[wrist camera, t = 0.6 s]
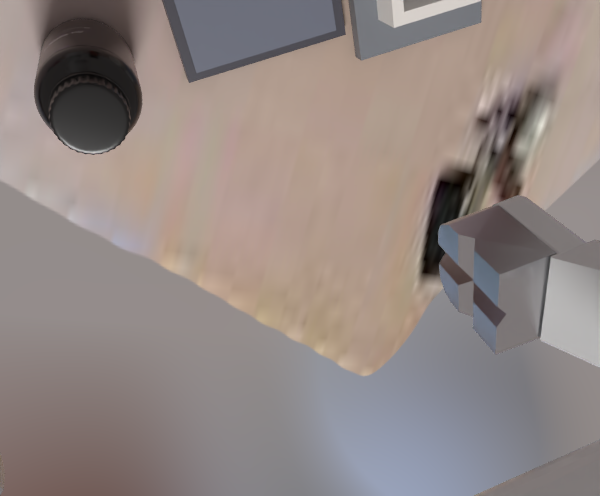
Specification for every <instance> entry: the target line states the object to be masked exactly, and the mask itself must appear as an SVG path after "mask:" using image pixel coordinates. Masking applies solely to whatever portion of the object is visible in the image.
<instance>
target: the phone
mask: <svg viewBox="0 0 600 496" xmlns="http://www.w3.org/2000/svg"><path fill="white" fill-rule="evenodd" d="M162 2H163V5H164V8H165V11H166V14H167V17H168V20H169V23H170V27H171V30H172V33H173V36H174V39H175V42H176V45H177V48H178V51H179V55H180V58H181V61H182V64H183V67H184V70H185V73H186V76H187V79H188V81H189V83H190V82H194V81H197V80H200V79H203V78H206V77H210V76H213V75H216V74H219V73H223V72H226V71H229V70H232V69H236V68H239V67H242V66H245V65H249V64H252V63H255V62H258V61H262V60H265V59H268V58H271V57H275V56H278V55H281V54H284V53H287V52H291V51H294V50H297V49H300V48H304V47H307V46H310V45H313V44H317V43H320V42H323V41H326V40H330V39H333V38H336V37H339V36H343V35H346V34H345V26H344V19H343V12H342V4H341V0H162Z"/></svg>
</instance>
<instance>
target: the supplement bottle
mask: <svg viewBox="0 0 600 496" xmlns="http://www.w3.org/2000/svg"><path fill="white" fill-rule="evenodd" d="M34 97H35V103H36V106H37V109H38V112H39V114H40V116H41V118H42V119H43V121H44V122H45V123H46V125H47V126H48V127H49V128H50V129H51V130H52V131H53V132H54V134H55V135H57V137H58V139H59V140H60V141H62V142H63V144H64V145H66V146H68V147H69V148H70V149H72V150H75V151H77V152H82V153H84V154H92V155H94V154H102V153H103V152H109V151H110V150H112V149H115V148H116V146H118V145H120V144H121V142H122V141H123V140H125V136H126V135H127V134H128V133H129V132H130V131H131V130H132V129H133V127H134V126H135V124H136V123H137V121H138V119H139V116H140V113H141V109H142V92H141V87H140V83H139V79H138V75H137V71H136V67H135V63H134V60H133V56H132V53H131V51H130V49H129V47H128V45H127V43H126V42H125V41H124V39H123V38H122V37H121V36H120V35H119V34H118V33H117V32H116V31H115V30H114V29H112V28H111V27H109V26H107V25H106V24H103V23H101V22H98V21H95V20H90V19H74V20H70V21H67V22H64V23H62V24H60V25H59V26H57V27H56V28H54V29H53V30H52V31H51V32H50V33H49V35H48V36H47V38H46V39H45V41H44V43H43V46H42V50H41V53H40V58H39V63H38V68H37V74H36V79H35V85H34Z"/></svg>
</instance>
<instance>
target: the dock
mask: <svg viewBox="0 0 600 496" xmlns="http://www.w3.org/2000/svg"><path fill="white" fill-rule="evenodd" d="M349 7H350V15H351V23H352V31H353V39H354V46H355V54H356V57H357V58H358V59H360V60H364V59H367V58H371V57H374V56H377V55H380V54H383V53H386V52H390V51H393V50H396V49H399V48H402V47H405V46H408V45H412V44H415V43H418V42H421V41H424V40H427V39H430V38H434V37H437V36H440V35H443V34H446V33H449V32H453V31H456V30H459V29H462V28H465V27H468V26H471V25H475V24H478V23H481V0H349Z"/></svg>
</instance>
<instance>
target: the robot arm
mask: <svg viewBox="0 0 600 496" xmlns="http://www.w3.org/2000/svg"><path fill="white" fill-rule="evenodd" d="M438 243H439V245H440V246H441V247H442V248H443V249H444V251H445V252H446V253H445V255H444V256H443V258H442V260H441V261H440V263H439V268H440V279H441V282H442V285H443V288H444V290H445V293H446V295H447V296H448V298H449V300H450V302H451V303H452V304H453V306H454V307H455V308H456V309H457V310H458V312H460V313H464V314H466V315H469V316H472V317H473V329H474V331H475V332H476V333H477V334H478V335H479V336H480V338H481V339H482V340H483V341H484V342H485V343H486V345H487V346H488V347H489V348H490V349H491V350H492V351H493V353H494V354H499V353H501V352H504V351H506V350H509V349H512V348H515V347H517V346H520V345H523V344H525V343H528V342H531V341H533V340H535V339H538V338H540V340H541V341H543V342H545V343H547V344H549V345H552V346H554V347H556V348H558V349H560V350H562V351H565V352H567V353H569V354H571V355H573V356H575V357H578V358H580V359H582V360H584V361H587V362H589V363H591V364H593V365H595V366H597V367H600V241H598V240H593V241H590V242H585V241H584V240H583V239H581V238H580V237H579V236H577V235H576V234H575V233H573V232H572V231H571V230H569V229H568V228H567V227H565V226H564V225H563V224H561V223H560V222H559V221H557V220H556V219H555V218H553V217H552V216H551V215H549V214H548V213H547V212H545V211H544V210H543V209H541V208H540V207H539V206H537V205H536V204H535V203H533V202H532V201H531V200H529V199H528V198H527V197H524V196H520V195H518V196H515V197H512V198H510V199H507V200H505V201H502V202H499V203H497V204H494V205H493V206H492V207H488V208H485V209H482V210H480V211H477V212H474V213H472V214H469V215H466V216H464V217H461V218H458V219H455V220H453V221H450V222H447V223H445V224H442V225H441V226H440V229H439V232H438ZM4 477H5V472H4V467H3V462H2V456H1V454H0V494H1V493H2V491H3V490H4V489H3V488H4ZM474 496H600V439H599V440H597V441H595V442H593V443H590V444H588V445H586V446H584V447H582V448H579V449H577V450H575V451H572V452H570V453H568V454H566V455H564V456H561V457H559V458H557V459H555V460H553V461H550V462H548V463H546V464H543V465H541V466H539V467H537V468H534V469H532V470H530V471H528V472H526V473H523V474H521V475H519V476H517V477H514V478H512V479H510V480H508V481H506V482H503V483H501V484H499V485H496V486H494V487H492V488H490V489H487V490H485V491H483V492H481V493H478V494H476V495H474Z"/></svg>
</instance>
